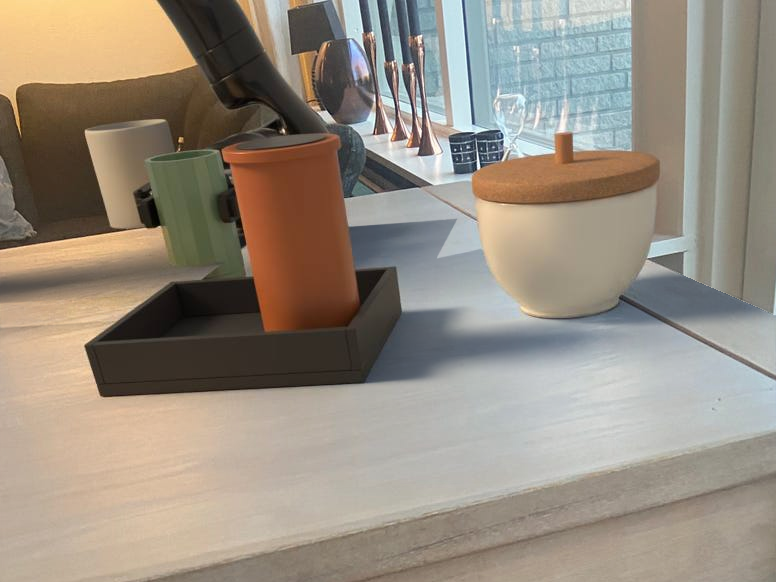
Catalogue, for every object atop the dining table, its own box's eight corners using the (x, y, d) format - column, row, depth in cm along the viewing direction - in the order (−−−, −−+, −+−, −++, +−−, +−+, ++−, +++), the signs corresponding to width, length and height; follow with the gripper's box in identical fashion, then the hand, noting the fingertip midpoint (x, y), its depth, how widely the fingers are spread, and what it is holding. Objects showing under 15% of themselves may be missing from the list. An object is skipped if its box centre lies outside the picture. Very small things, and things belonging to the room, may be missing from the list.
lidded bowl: (591, 272, 76) (588, 115, 70) (694, 302, 67) (701, 124, 61) (452, 305, 72) (435, 141, 65) (541, 342, 62) (532, 155, 56)
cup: (165, 291, 83) (132, 164, 78) (190, 273, 88) (160, 153, 83) (234, 286, 82) (205, 158, 77) (254, 268, 87) (229, 147, 82)
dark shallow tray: (99, 396, 61) (83, 345, 59) (182, 326, 73) (170, 281, 71) (363, 382, 59) (355, 328, 57) (402, 312, 71) (396, 266, 69)
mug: (191, 240, 101) (163, 124, 95) (109, 250, 101) (75, 133, 94) (200, 220, 111) (175, 113, 105) (126, 229, 110) (96, 122, 104)
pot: (251, 364, 61) (204, 154, 54) (280, 331, 67) (241, 137, 60) (358, 358, 60) (325, 144, 53) (378, 325, 66) (350, 128, 59)
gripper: (163, 141, 92) (89, 170, 79) (307, 129, 91) (258, 156, 77) (183, 224, 97) (116, 265, 83) (321, 214, 95) (277, 254, 81)
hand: (185, 212), depth 80 cm, fingers closed on cup, 6 cm apart
